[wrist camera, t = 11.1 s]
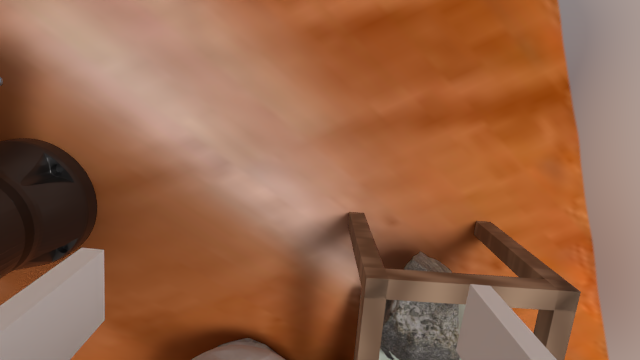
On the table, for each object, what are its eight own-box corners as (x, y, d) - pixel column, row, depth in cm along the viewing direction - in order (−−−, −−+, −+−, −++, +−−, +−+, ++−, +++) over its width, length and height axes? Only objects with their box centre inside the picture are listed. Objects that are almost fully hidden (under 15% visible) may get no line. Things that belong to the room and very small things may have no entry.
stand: (334, 371, 55) (341, 500, 38) (349, 212, 50) (366, 277, 33) (462, 379, 55) (527, 509, 38) (490, 222, 50) (580, 292, 33)
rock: (455, 385, 42) (472, 366, 37) (372, 372, 43) (378, 352, 38) (448, 271, 51) (462, 243, 46) (379, 261, 52) (385, 233, 47)
